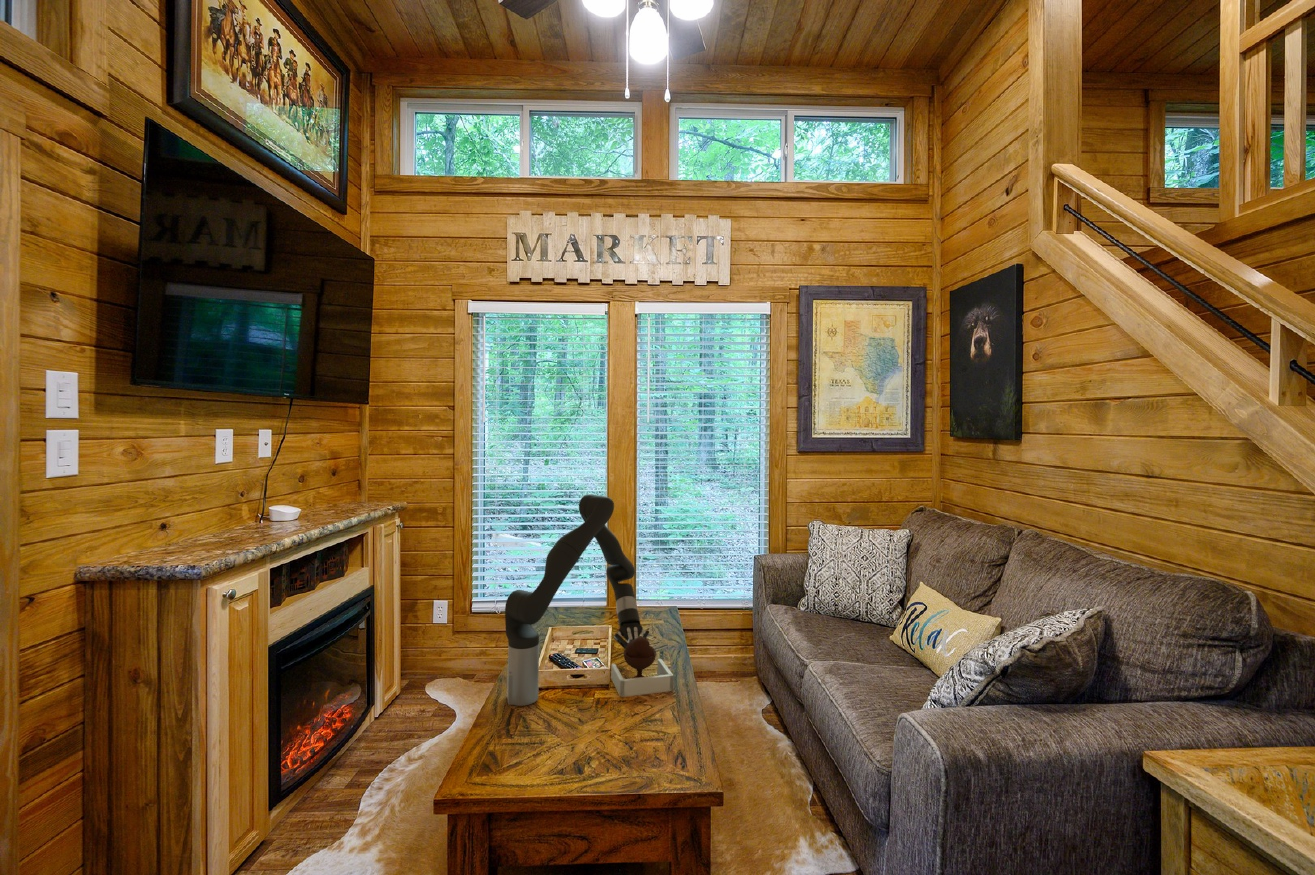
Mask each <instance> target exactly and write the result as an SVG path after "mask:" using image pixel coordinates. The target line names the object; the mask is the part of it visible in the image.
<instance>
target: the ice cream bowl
mask: <svg viewBox="0 0 1315 875" xmlns="http://www.w3.org/2000/svg"><path fill="white" fill-rule="evenodd" d="M656 656H657V651H656V649H655V648H654V647H653V646H652V645H650V641H649V639H647V638H644V637H643V636H639V637H638V638H636V639H634V640H632V641H630V642H629V643H628V644H627V646H626V649H623V658H624V661H625V663H626V664H628V666H629V667H631V668H632V669H634V670H636V675H634V676H633V677H632V678H640V677H645V676H644V675H643V670H646V669H647V668H649V667H650V666H651V665H653V663H655V660H656Z"/></svg>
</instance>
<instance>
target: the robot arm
mask: <svg viewBox="0 0 1315 875" xmlns="http://www.w3.org/2000/svg"><path fill="white" fill-rule="evenodd" d="M614 510H615V503H614V500H613V499H612V498H611V497H608V496H604V495H599V494H592V493H590V494H589V493H588V494H587V493H586V494H585V495H583V496H582V497H581V499H580V500H579V503H578V511H579V512H578V513H579V515H580V517H581V518H582V520H583V523H582V524H580V525H578V526H577V527H575V528H574V529H572V530H570V531H569V532H566V533H565V534H564V535H562V536H561V537H560V538H558V540H557V541H556V542H555V544H554V545H553V546H552V548H551V549H550V550H549V552H548V553H547V555H546V560H545V565H544V566H545V567H544V568H545V569H544V574H543V577H542V579H541V581H540V582H539V584H538V586H537V587H536V588H535V589H534V590H533V592H531V591H529V590H528V591H527V590H524V589H515V590H513V591H512V592H511V593H509V595H508V597H507V599H506V601H505V608H504V618H505V619H504V621H505V622H504V623H505V624H504V626H505V636H506V638H507V642H508V643H507V644H508V645H507V647H508V650H507V652H508V653H507V654H508V655H507V675H506V678H507V680H506V681H507V682H506V683H507V684H506V685H507V686H506V689H507V690H506V692H507V693H506V695H507V696H506V697H507V698H506V699H507V705H508V706H516V707H517V706H519V707H522V706H523V707H524V706H529V705H532V704H534V703H536V702H537V701H538V700H539V683H540V682H539V681H540V680H539V678H540V677H539V676H540V675H539V674H540V673H539V668H540V666H539V665H540V664H539V661H540V634H539V632H538V631H537V630H536V629H535V628H534V627H533V625H534V624H537V623H538V622H539V621H540V620H541V619H542V617H543V616H544V615H545V613H546V612H547V610H548V608H549V607H550V604H551V603H552V601H553V599H554V597H555V596H556V593H557V591H558V590H560V589H559V588H560V587H561V585H562V584H563V582H564V581H565V580H566V578H567V576H568V575H569V573H570V572H571V571H572V569H573V568H574V567H575V565H576V564H577V563H578V561H579V559H580V558H581V556H582V555H583V553H584V552H585V550H586V549H587V547H588V546H589V545H590V544H591V542H592V541H593V539H594V538H595V540H596V542H597V544H598V546H599V548H600V550H601V553H602V555H603V557H604V560H605V562H606V564H608V566H607V567H606V570H605V572H606V573H605V574H606V578H607V579H608V581H609V583H610V584H611V587H612V589H613V593H614V598H615V607H616V614H617V620H618V632H617V633H615V634H614V636H613V639H614V640H615V641H616V642H617V644H618V645H620V646H621V647H622V648H623V650H626V646H627V644H628V643H629V642H630V641H632V640H634V639H636V638H638V637H644V638H646V639H647V638H648V636H649V634H650V631H649V630H648V629H647V630H645V629H644V628H643V626H642V624H641V620H640V619H641V618H640V615H639V608H638V603H637V601H636V598H635V592H634V587H633V586H632V584H631V583H626V582H625V581H628V580H632V579H633V578H634V576H635V574H636V573H635V572H636V570H635V567H634V565H633V563H632V562H631V560H629V558H628V557H627V556H626V555H625V553H624V551H623V549H622V546H621V544H620V542H619V540H618V538H617V537H616V535H615V534H614V533H613V531H611V529H609V527H607V525H606V524H607V523H608V522H609V521H610V519H611V518H612V515H613V513H614ZM623 581H624V582H625V583H623ZM621 582H622V583H621ZM640 635H641V636H640Z"/></svg>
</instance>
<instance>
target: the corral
mask: <svg viewBox="0 0 1315 875" xmlns="http://www.w3.org/2000/svg"><path fill="white" fill-rule="evenodd" d="M610 668H611V670H610V671H611V672H610V680H611V681H612V683H613V685H614V687H615V689H616V692H617V693H618V695H619V697H620V698H625V697H634V696H641V695H643V696H644V695H651V694H659V693H667V692H674V687H675V686H674V680H675V677H674V674H673V673H672V671H671V670H670V668H669V667H668V666H667V664H666V663H665V662H664V661H663V659H662V658H658V659H657V672H656V673H657V675H651V676H650V675H649V676H644V677H640V678H633V677H631V678H624V677H623V676H622V674H621V672H620V670H619V669H618V666H617V665H616V663H611V666H610Z"/></svg>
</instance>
